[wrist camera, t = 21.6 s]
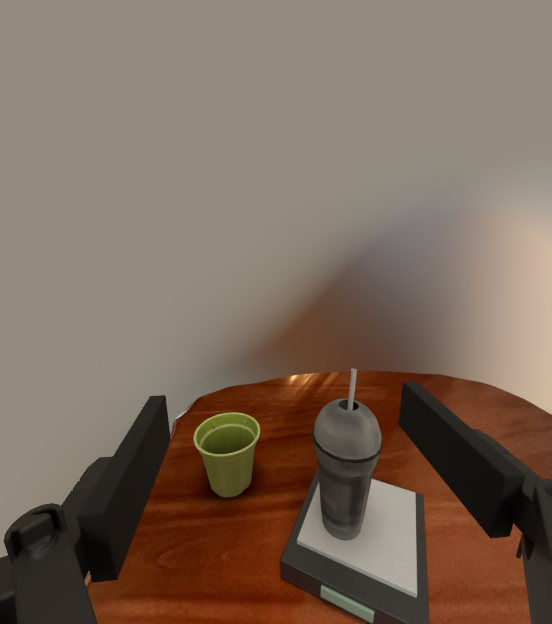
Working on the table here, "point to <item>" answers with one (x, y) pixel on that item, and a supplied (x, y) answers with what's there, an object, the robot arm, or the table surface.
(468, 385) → the table surface
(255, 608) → the table surface
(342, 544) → the scale
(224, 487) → the plant pot
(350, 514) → the beverage cup
